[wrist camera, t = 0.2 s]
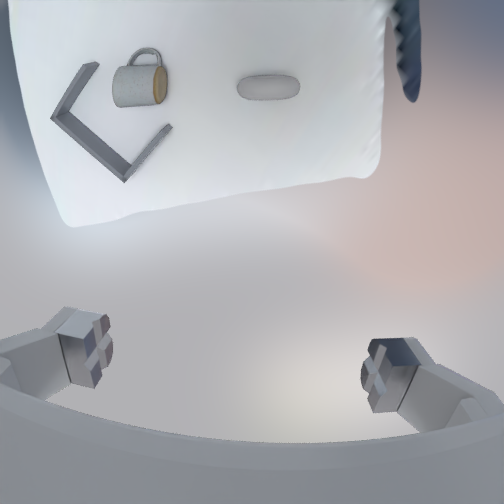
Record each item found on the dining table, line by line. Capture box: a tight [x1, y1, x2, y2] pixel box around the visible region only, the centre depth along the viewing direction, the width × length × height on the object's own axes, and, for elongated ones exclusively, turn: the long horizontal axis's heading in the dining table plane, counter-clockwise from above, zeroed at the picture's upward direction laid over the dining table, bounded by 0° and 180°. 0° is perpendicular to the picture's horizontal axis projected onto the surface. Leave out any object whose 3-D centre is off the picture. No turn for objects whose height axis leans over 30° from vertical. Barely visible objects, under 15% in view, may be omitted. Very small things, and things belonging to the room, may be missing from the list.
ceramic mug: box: [112, 48, 167, 108], centre depth 46 cm, size 11×8×8 cm
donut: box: [237, 75, 300, 100], centre depth 46 cm, size 10×4×10 cm, turn 94°
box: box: [50, 62, 173, 183], centre depth 51 cm, size 13×21×5 cm, turn 44°
